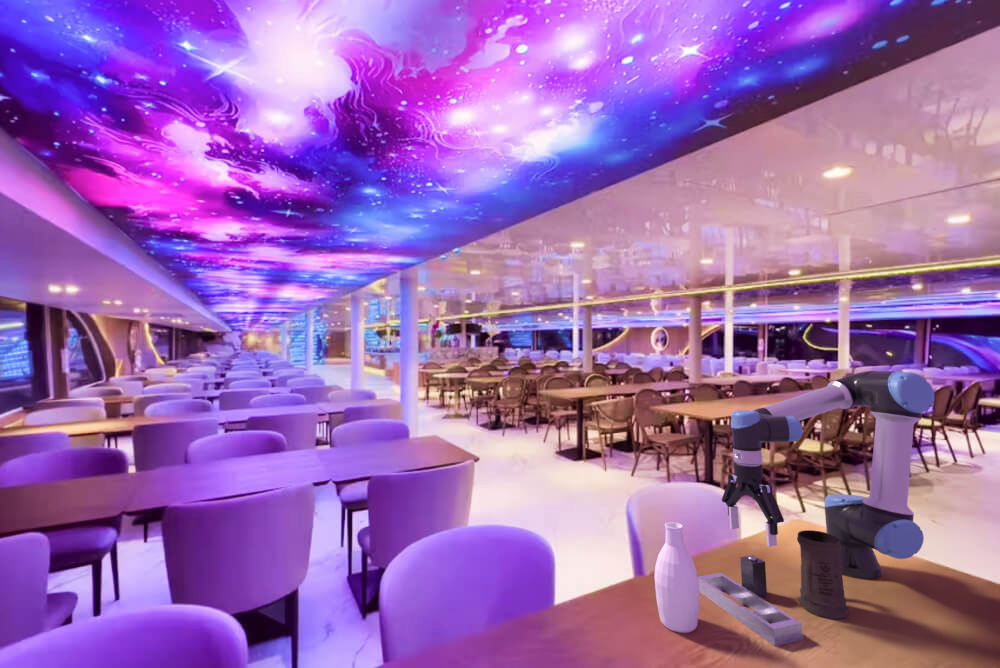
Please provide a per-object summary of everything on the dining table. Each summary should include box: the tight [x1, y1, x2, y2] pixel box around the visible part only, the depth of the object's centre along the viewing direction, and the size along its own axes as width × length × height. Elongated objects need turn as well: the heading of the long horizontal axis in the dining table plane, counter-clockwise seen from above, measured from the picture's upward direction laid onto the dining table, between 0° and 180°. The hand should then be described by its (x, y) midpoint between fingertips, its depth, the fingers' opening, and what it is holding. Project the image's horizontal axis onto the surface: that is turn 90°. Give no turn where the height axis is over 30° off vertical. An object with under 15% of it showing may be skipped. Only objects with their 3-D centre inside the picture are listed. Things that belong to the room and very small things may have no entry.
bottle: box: [654, 521, 700, 634], centre depth 119 cm, size 11×11×25 cm
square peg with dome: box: [739, 555, 768, 599], centre depth 132 cm, size 4×4×11 cm
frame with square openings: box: [697, 572, 803, 647], centre depth 122 cm, size 8×28×4 cm, turn 15°
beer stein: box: [797, 529, 849, 620], centre depth 126 cm, size 15×11×20 cm
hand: (752, 536), depth 131 cm, fingers open, 13 cm apart
